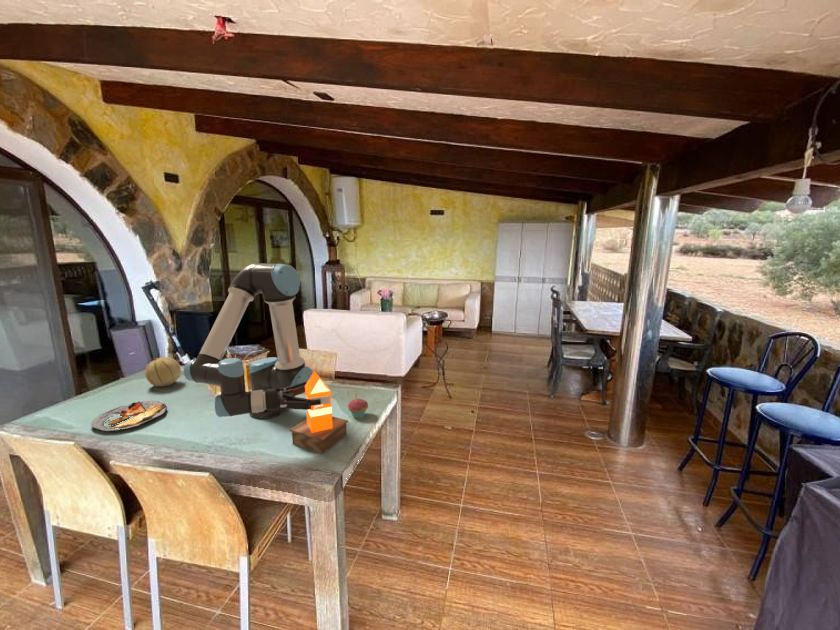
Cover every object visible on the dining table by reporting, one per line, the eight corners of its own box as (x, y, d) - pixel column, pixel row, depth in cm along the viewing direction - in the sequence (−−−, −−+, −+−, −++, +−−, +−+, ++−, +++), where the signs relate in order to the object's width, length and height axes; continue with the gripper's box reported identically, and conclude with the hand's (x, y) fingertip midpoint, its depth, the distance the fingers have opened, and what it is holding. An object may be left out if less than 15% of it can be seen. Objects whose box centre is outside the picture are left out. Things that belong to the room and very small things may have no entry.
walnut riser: (290, 444, 141) (289, 429, 139) (317, 426, 154) (317, 412, 153) (323, 454, 134) (322, 439, 133) (348, 434, 148) (348, 420, 146)
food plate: (142, 401, 174) (140, 394, 174) (180, 410, 167) (178, 402, 166) (79, 428, 152) (77, 420, 151) (119, 440, 144) (118, 431, 143)
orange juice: (327, 417, 148) (324, 368, 144) (332, 428, 141) (330, 376, 136) (306, 422, 145) (303, 372, 141) (311, 433, 137) (308, 380, 133)
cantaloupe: (186, 385, 194) (182, 356, 191) (152, 393, 183) (148, 363, 180) (176, 377, 204) (172, 350, 200) (143, 385, 193) (139, 357, 190)
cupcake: (364, 421, 158) (363, 394, 156) (344, 419, 160) (343, 392, 158) (370, 412, 167) (370, 386, 164) (352, 410, 168) (351, 384, 166)
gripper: (267, 396, 146) (324, 389, 154) (265, 426, 124) (332, 416, 131) (265, 377, 145) (323, 371, 152) (263, 404, 122) (331, 395, 130)
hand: (328, 392), depth 142 cm, fingers open, 12 cm apart
